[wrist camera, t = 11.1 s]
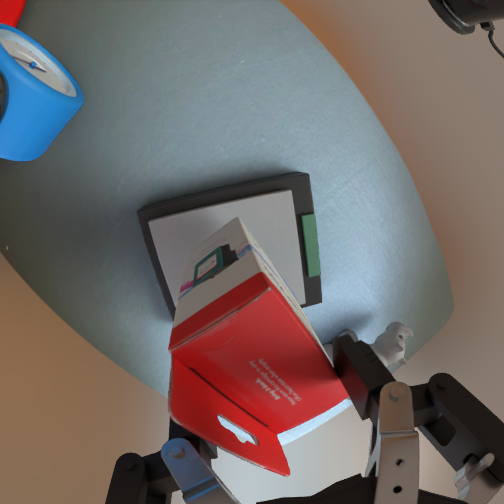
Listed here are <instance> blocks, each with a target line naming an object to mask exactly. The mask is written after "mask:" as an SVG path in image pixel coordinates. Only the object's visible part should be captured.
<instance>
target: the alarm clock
mask: <svg viewBox="0 0 504 504" xmlns="http://www.w3.org/2000/svg"><path fill="white" fill-rule="evenodd" d="M83 101H84V97H83V93H82V91H81V89H80V87H79V85H78V84H77V82H76V81H75V79H74V78H73V77H72V76H71V74H70V73H69V72H68V71H67V70H66V68H65V67H64V66H63V65H62V64H61V63H60V62H59V61H58V60H57V59H56V58H55V57H54V56H53V55H52V54H51V53H50V52H48V51H47V50H46V49H45V48H44V47H43V46H41V45H40V44H39V43H38V42H36V41H35V40H34V39H32V38H31V37H29V36H28V35H26V34H25V33H23V32H22V31H20V30H18V29H16V28H14V27H12V26H9V25H6V24H3V23H0V158H4V159H8V160H13V161H29V160H33V159H36V158H38V157H40V156H41V155H42V154H43V153H44V152H45V151H46V149H47V148H48V147H49V145H50V144H51V143H52V141H53V140H54V139H55V138H56V136H57V135H58V134H59V132H60V131H61V130H62V129H63V128H64V126H65V125H66V124H67V123H68V122H69V120H70V119H71V118H72V117H73V116H74V115H75V113H76V112H77V111H78V110H79V109H80V108H81V106H82V105H83Z"/></svg>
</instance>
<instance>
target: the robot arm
mask: <svg viewBox="0 0 504 504" xmlns="http://www.w3.org/2000/svg"><path fill="white" fill-rule="evenodd" d="M440 1H441V3H442V4H443V6H444V7H445V9H446V10H447V11H448V12H449V14H450V15H451V16H452V17H453V18H454V19H455V20H456V21H457V22H458V23H460V24H461V25H463V26H465V27H469V26H472V25H476V24H480V25H481V28H482V29H484V30H486V31H489V34H488V38H489V40H490V42H491V44H492V46H493V47H494V49H495V50H496V51H497V52H498V53H499V54H500V55H501V56H502V57H503V58H504V54H503V53H502V52H501V51H500V50H499V49H498V47H497V46H496V45H495V43H494V42H493V39H492V35H493V30H494V29H495V28H494V26H493V23H492V21H494V20H500V19H504V0H440ZM333 366H334V369H335V371H336V373H337V375H338V377H339V379H340V381H341V382H342V384H343V386H344V388H345V390H346V392H347V393H348V395H349V397H350V399H351V401H352V403H353V404H354V406H355V408H356V410H357V412H358V414H359V415H360V417H361V419H362V420H365V419H368V418H370V420H371V422H372V425H371V437H370V448H369V458H368V463H367V467H366V472H365V477H362V476H361V474H357V475H355V476H352V477H349V478H347V479H344V480H341V481H338V482H336V483H334V484H332V485H331V486H329V487H327V488H325V489H324V490H322V491H320V492H318V493H316V494H315V495H312V496H307V497H285V498H278V499H273V500H268V501H263V502H257V503H256V504H487V503H488V502H489V501H490V500H491V499H492V498H493V496H494V495H495V494H496V493H497V492H498V491H499V490H500V488H501V487H502V486H503V485H504V423H503V422H502V421H501V420H500V419H499V418H498V417H497V416H496V415H494V414H493V413H492V412H491V411H490V410H489V409H488V408H487V407H486V406H485V405H484V404H483V403H481V402H480V401H479V400H478V399H477V398H476V397H475V396H474V395H473V394H471V393H470V392H469V391H468V390H467V389H466V388H465V387H463V385H461V384H460V383H459V382H458V381H457V380H456V379H454V378H453V377H452V376H451V375H449V374H447V373H437V374H435V375H433V376H432V377H431V378H430V380H429V382H428V383H426V384H421V385H416V386H408V385H407V384H405V383H402V382H398V381H396V380H395V379H394V377H393V376H392V374H391V373H390V372H389V370H388V369H387V368H386V366H385V365H384V364H383V362H382V361H381V360H380V359H379V357H378V356H377V355H376V354H375V352H374V351H373V349H372V348H371V347H370V345H368V344H367V343H365V342H363V341H361V340H360V341H357V342H355V341H354V340H353V339H352V337H351V336H350V335H349V334H345V335H342V336H339V337H336V338H333ZM414 427H417V428H418V429H419V430H420V431H421V432H422V433H423V434H424V436H425V437H426V438H427V439H428V440H429V441H430V442H431V444H432V445H433V446H434V447H435V448H436V449H437V450H438V451H439V452H440V454H441V455H442V456H443V457H444V458H445V459H446V461H447V462H448V463H449V464H450V465H451V466H452V467H453V469H454V470H455V471H456V472H457V473H456V476H455V486H456V487H457V489H458V499H455V498H450V497H446V496H442V495H438V494H434V493H431V492H428V491H424V490H421V489H418V486H419V434H418V432H417V431H415V430H414ZM216 458H218V456H217V446H215V445H214V444H212V443H210V442H208V441H206V440H204V439H202V438H201V437H199V436H197V435H195V434H194V433H192V432H190V431H189V430H187V429H185V428H184V427H182V426H180V425H178V424H177V423H175V422H174V421H173V420H172V418H171V416H170V426H169V440H168V441H167V442H166V443H165V444H164V445H163V447H162V449H161V450H160V451H158V452H156V453H153V454H150V455H147V456H144V457H141V456H140V455H138V454H136V453H126V454H123V455H122V456H120V457H119V458H118V460H117V461H116V465H115V468H114V472H113V475H112V479H111V483H110V486H109V490H108V494H107V498H106V502H105V504H171V497H172V492H174V491H178V490H181V491H182V493H183V499H184V501H185V503H186V504H241V503H240V502H239V501H238V500H237V499H236V498H235V496H234V495H233V494H232V493H231V492H230V491H229V489H228V488H227V487H226V486H225V485H224V483H223V482H222V481H221V480H220V478H219V477H218V476H217V475H216V473H215V472H214V471H213V469H212V466H211V459H216Z"/></svg>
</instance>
